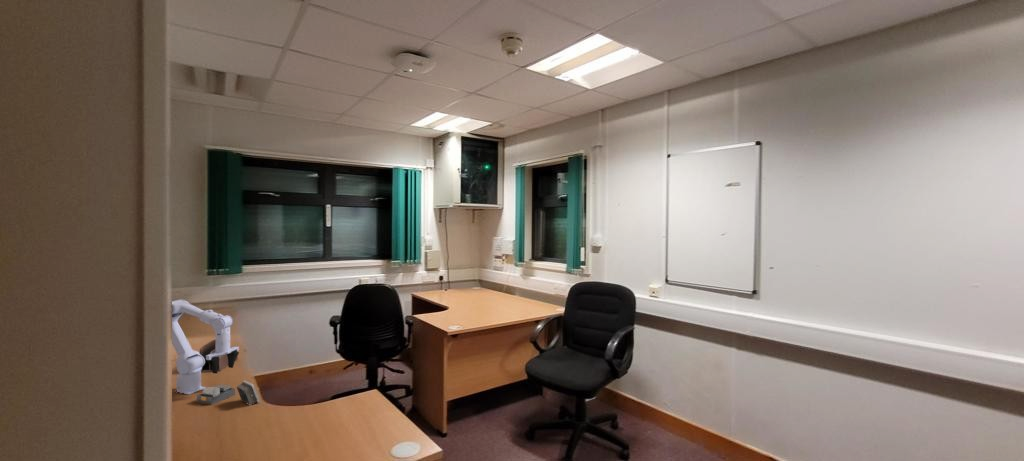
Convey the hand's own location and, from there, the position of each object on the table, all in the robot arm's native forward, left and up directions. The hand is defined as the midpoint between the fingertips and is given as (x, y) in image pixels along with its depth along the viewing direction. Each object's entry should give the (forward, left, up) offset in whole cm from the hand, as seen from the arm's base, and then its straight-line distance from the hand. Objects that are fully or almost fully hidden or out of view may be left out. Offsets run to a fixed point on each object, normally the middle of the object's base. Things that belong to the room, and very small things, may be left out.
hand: (223, 370), depth 188 cm
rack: (+5, -7, -10) cm, 13 cm away
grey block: (+6, -10, -9) cm, 14 cm away
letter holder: (-36, +25, -10) cm, 45 cm away
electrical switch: (+23, -6, -10) cm, 26 cm away
